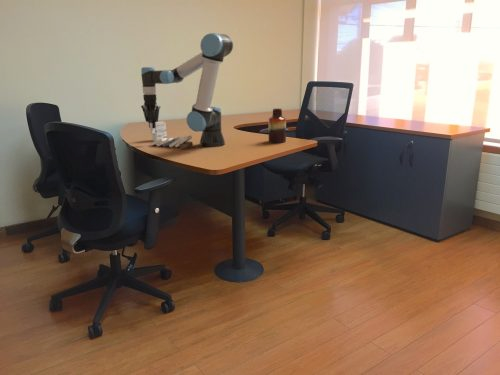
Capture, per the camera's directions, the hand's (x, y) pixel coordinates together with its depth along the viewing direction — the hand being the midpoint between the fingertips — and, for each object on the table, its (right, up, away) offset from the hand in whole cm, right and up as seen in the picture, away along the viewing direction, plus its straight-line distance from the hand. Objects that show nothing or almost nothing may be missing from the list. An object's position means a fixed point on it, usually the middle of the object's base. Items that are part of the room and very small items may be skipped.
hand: (152, 133), depth 258 cm
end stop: (+22, -10, -8) cm, 25 cm away
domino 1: (-1, -6, +2) cm, 7 cm away
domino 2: (+4, -7, 0) cm, 8 cm away
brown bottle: (+77, -4, +8) cm, 77 cm away
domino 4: (+13, -8, -4) cm, 15 cm away
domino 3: (+8, -7, -2) cm, 11 cm away
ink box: (0, -3, +18) cm, 18 cm away
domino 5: (+16, -8, -6) cm, 19 cm away
